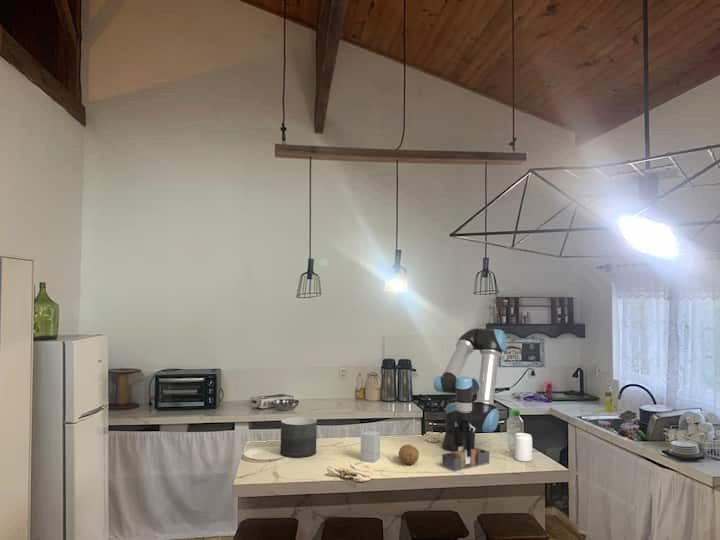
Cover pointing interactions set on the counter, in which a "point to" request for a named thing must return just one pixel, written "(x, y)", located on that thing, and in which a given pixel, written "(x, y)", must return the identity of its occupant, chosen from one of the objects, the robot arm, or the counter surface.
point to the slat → (462, 454)
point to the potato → (408, 454)
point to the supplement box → (370, 446)
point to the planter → (298, 437)
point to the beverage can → (523, 447)
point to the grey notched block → (455, 463)
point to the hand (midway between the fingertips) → (464, 462)
